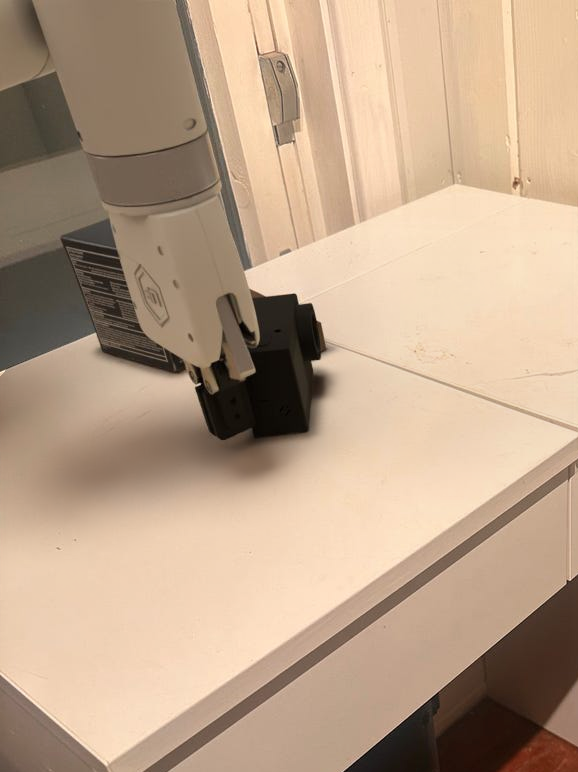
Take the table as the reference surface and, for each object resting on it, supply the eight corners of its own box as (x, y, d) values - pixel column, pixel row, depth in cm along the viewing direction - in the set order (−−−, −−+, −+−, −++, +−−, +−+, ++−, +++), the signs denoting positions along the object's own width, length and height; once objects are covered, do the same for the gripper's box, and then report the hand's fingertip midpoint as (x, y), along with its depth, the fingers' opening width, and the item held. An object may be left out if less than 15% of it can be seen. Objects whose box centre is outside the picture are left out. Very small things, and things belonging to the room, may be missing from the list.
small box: (229, 344, 84) (196, 226, 77) (176, 374, 80) (136, 253, 73) (152, 324, 89) (115, 211, 82) (99, 352, 85) (54, 235, 78)
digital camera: (323, 431, 71) (304, 345, 66) (253, 439, 71) (230, 354, 66) (327, 370, 78) (310, 289, 74) (264, 377, 78) (243, 297, 74)
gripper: (52, 167, 60) (145, 417, 72) (156, 212, 51) (241, 487, 64) (155, 138, 63) (227, 382, 76) (269, 175, 54) (329, 444, 67)
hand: (233, 430), depth 70 cm, fingers closed
